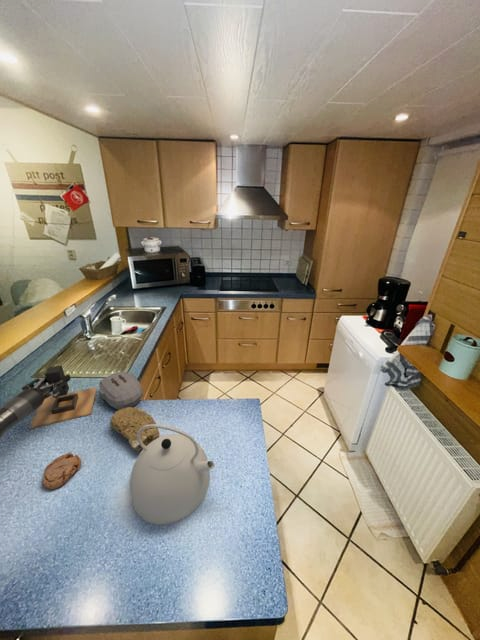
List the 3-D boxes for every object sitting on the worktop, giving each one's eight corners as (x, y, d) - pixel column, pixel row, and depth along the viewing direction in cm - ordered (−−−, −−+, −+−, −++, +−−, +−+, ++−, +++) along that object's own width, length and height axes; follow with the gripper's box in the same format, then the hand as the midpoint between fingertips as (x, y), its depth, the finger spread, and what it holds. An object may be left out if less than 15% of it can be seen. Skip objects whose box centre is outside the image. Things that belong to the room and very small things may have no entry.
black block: (53, 397, 96) (44, 374, 91) (56, 390, 99) (48, 367, 95) (66, 395, 97) (58, 371, 93) (69, 387, 101) (61, 365, 96)
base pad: (29, 428, 91) (27, 423, 90) (43, 399, 105) (41, 394, 104) (91, 414, 98) (89, 409, 97) (96, 388, 112) (95, 383, 110)
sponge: (165, 441, 89) (143, 401, 101) (160, 431, 84) (138, 390, 96) (128, 466, 83) (110, 420, 95) (121, 456, 78) (102, 409, 90)
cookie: (36, 494, 71) (32, 487, 70) (51, 460, 80) (48, 454, 79) (75, 485, 74) (73, 478, 72) (85, 453, 83) (83, 447, 82)
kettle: (225, 455, 83) (224, 404, 73) (202, 536, 63) (197, 479, 53) (156, 441, 87) (147, 391, 78) (114, 512, 67) (94, 456, 58)
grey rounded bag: (95, 394, 108) (116, 418, 96) (91, 378, 105) (112, 402, 93) (129, 378, 119) (151, 398, 107) (126, 363, 115) (149, 382, 103)
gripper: (36, 400, 80) (75, 369, 95) (-2, 394, 82) (42, 365, 97) (44, 417, 83) (80, 385, 98) (6, 412, 85) (48, 381, 100)
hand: (61, 375), depth 98 cm, fingers closed on black block, 6 cm apart
